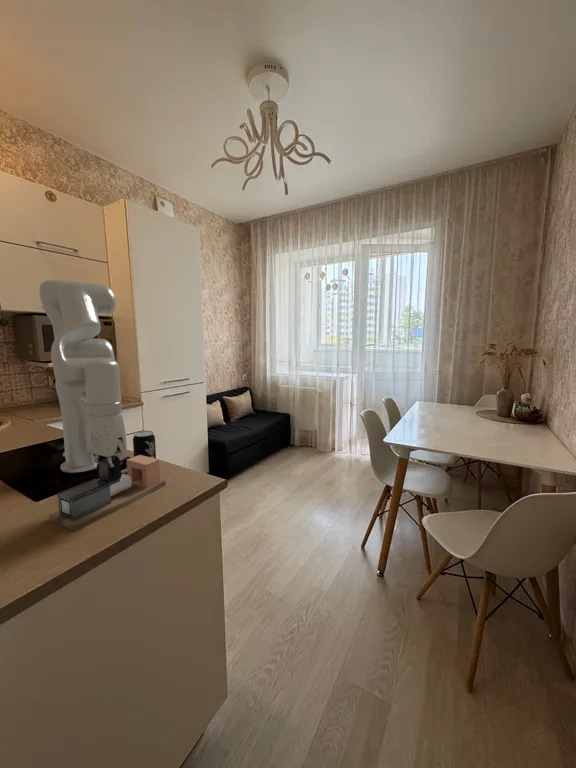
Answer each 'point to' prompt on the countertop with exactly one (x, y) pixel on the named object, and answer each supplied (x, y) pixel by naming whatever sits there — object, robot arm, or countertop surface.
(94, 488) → the sleeve
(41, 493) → the countertop surface
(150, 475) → the socket block
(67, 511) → the slide bolt
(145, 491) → the base board
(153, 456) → the beverage can
